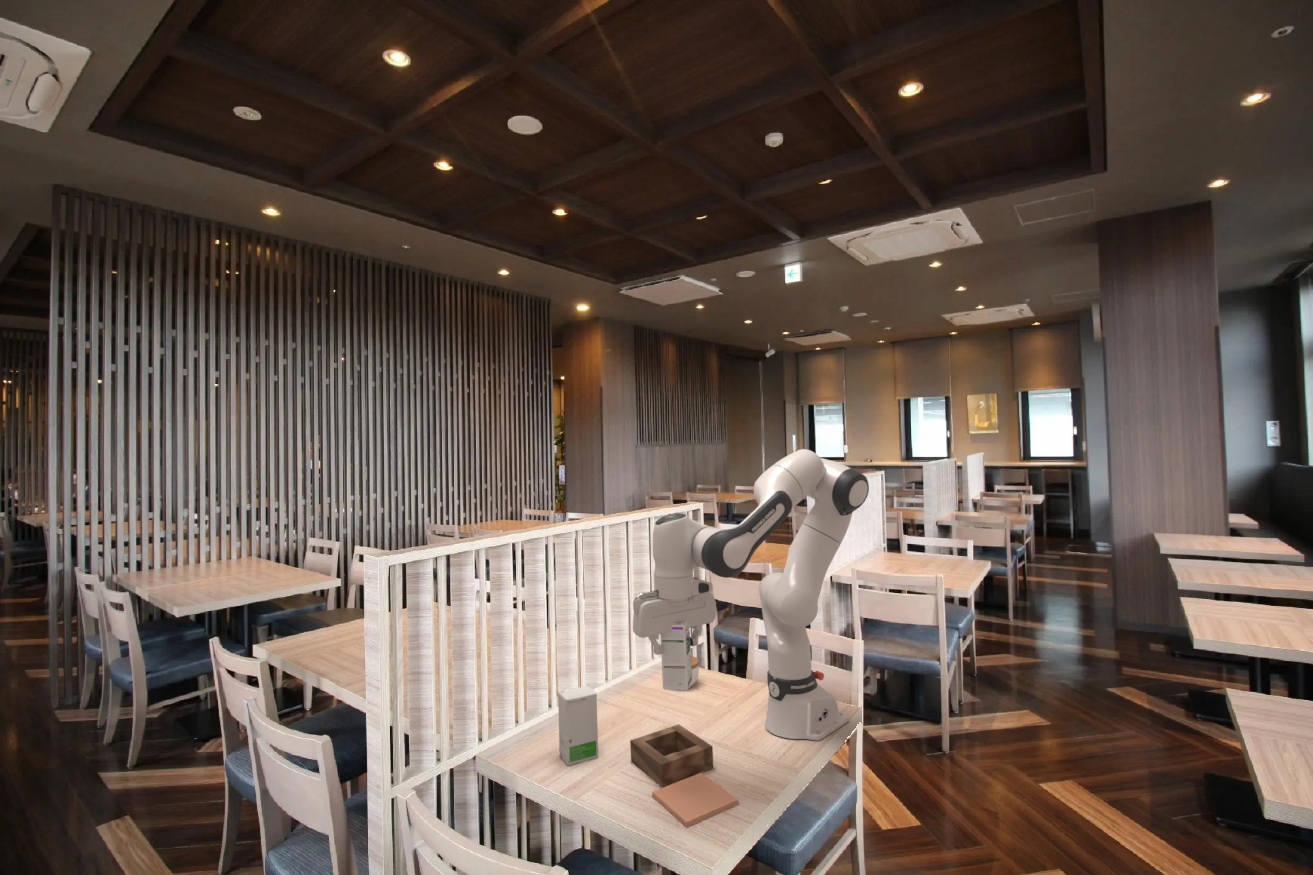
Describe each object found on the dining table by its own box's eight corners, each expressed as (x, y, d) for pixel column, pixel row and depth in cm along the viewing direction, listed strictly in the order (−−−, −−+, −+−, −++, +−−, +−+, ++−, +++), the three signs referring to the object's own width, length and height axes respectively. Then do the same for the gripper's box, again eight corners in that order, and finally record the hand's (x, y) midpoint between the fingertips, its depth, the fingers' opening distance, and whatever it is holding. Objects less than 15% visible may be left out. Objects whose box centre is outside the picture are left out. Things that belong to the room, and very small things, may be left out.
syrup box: (688, 691, 131) (686, 624, 131) (661, 689, 132) (659, 623, 133) (692, 681, 137) (690, 616, 137) (666, 679, 138) (664, 616, 138)
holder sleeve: (679, 744, 151) (678, 724, 151) (713, 767, 139) (712, 745, 139) (631, 761, 144) (630, 740, 144) (662, 787, 132) (661, 764, 132)
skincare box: (567, 766, 143) (564, 700, 143) (558, 754, 149) (555, 691, 149) (600, 757, 147) (597, 692, 147) (590, 745, 152) (587, 683, 153)
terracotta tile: (701, 776, 136) (701, 772, 136) (738, 804, 125) (738, 799, 125) (652, 796, 129) (652, 791, 129) (686, 827, 118) (686, 821, 118)
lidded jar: (663, 691, 185) (662, 661, 185) (668, 678, 195) (667, 649, 196) (698, 692, 183) (696, 661, 183) (701, 679, 194) (700, 649, 194)
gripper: (640, 597, 127) (642, 663, 127) (718, 583, 137) (721, 644, 137) (626, 591, 132) (628, 655, 132) (702, 578, 143) (704, 637, 142)
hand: (676, 649), depth 135 cm, fingers closed on syrup box, 8 cm apart
